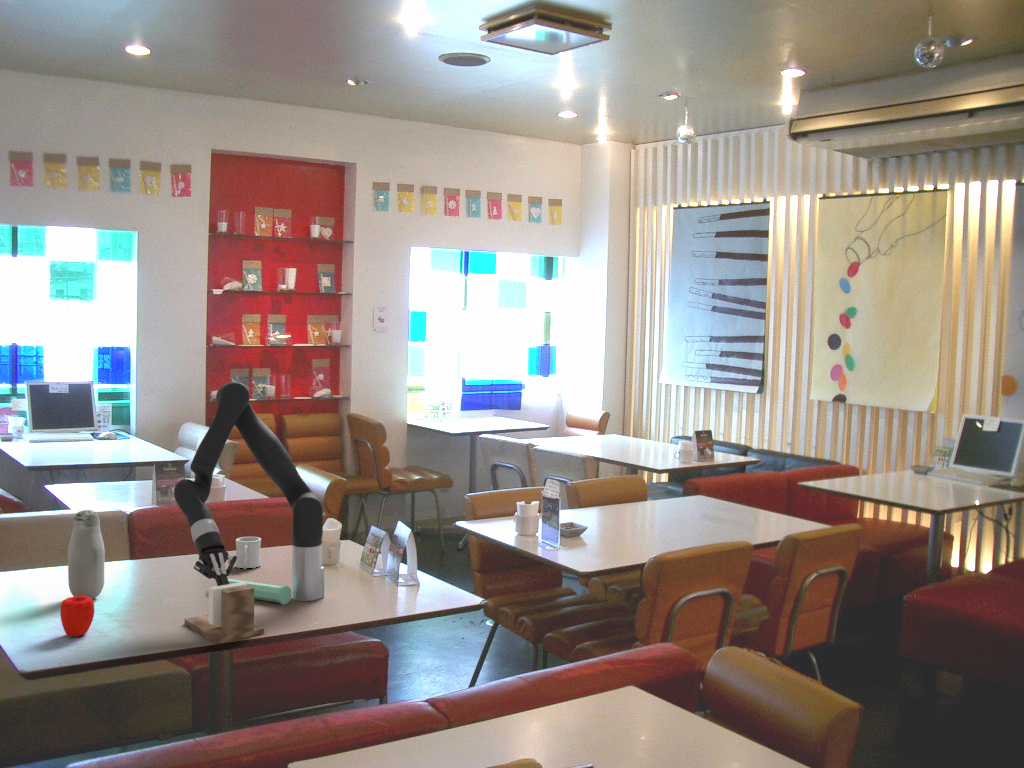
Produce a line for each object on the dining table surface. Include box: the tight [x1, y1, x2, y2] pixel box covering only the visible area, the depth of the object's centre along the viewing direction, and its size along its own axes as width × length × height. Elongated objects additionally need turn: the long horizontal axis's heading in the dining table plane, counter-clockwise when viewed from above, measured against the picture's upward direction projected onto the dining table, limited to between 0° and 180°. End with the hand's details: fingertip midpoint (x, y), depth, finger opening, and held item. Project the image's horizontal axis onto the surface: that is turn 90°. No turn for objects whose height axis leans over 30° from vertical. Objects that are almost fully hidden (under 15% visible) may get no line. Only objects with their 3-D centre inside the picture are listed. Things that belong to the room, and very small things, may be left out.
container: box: [227, 578, 292, 606], centre depth 306 cm, size 6×6×25 cm
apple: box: [59, 596, 95, 637], centre depth 267 cm, size 9×9×11 cm
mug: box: [234, 536, 262, 570], centre depth 344 cm, size 12×9×10 cm
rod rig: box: [184, 585, 265, 644], centre depth 274 cm, size 14×22×14 cm, turn 41°
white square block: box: [208, 582, 247, 625], centre depth 272 cm, size 10×3×10 cm, turn 131°
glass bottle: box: [67, 509, 106, 600], centre depth 301 cm, size 10×10×28 cm
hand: (224, 588), depth 274 cm, fingers closed
